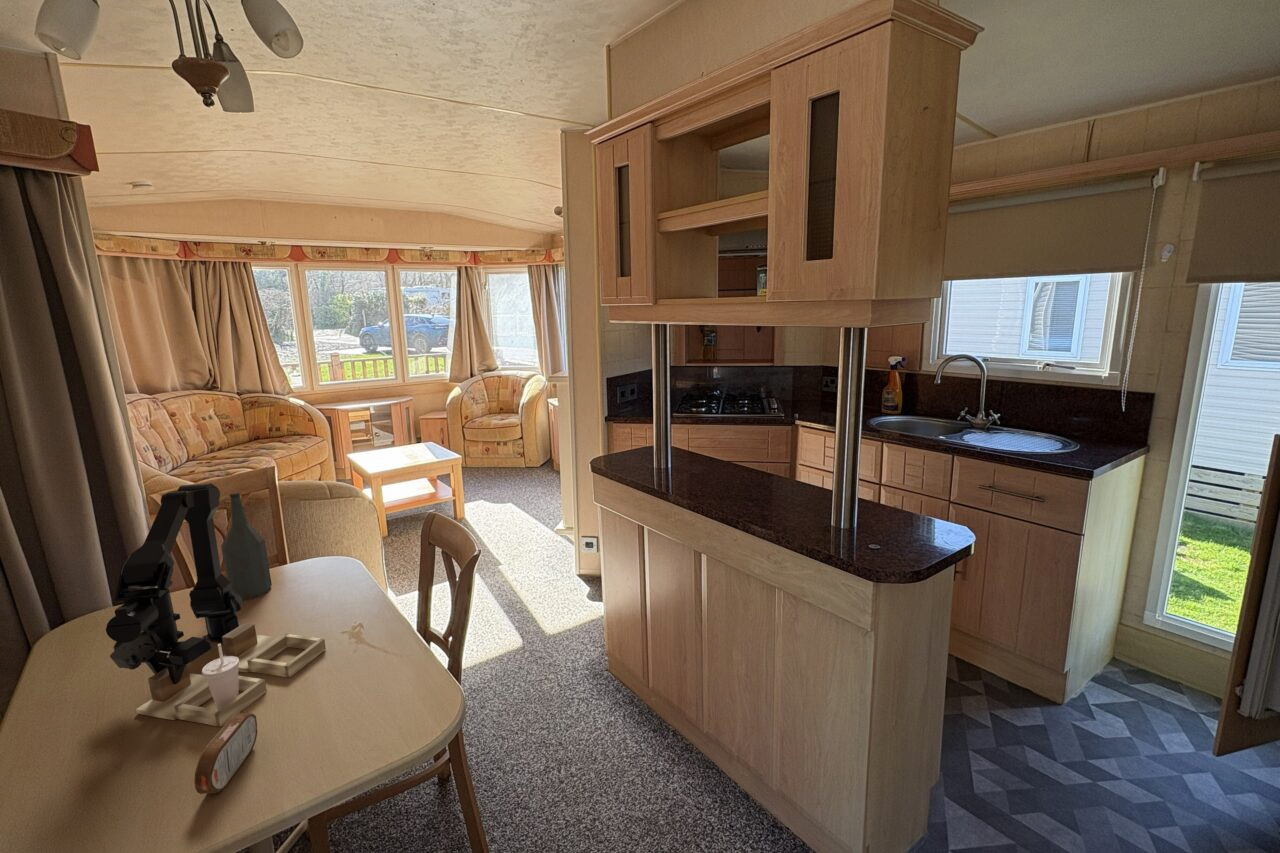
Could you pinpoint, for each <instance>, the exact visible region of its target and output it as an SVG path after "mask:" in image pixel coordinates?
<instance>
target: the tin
mask: <svg viewBox="0 0 1280 853" xmlns="http://www.w3.org/2000/svg"><path fill="white" fill-rule="evenodd" d="M257 736H258V721H257V716H256V715H255V714H254V713H251V712H249V713H247V712H246V713H245V712H244V713H243V712H239V713H236V714H234V715H233V716H232V717H231V718H230V719H229V721H228V722H227V723H225V724H224V725H223V726H222V728H221V729H220V730H219V731H218V732H217V734H216V735H214V737H213V738H212V739H211V740H210V741H209V742H208V743H207V745H206V746H205V748H204V749H203V751H202V753H201V754H200V756H199V759H198V761H197V764H196V768H195V772H194V782H193V783H194V788H195V791H196V793H198V794H199V795H204V794H216V793H220V792H221V791H222V790H224V789H225V787H226V786H228V784H229V783H230V781H231V780H232V779H233V777H234V776H235V774H236V773H237V772H238V771H239V770H240V768H241V767H242V766H243V764H244V762H245V761H246V760H247V758H249V756H250V754H251V753H252V751H253V748H254V747H255V744H256V741H257Z"/></svg>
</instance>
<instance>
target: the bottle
mask: <svg viewBox="0 0 1280 853" xmlns="http://www.w3.org/2000/svg"><path fill="white" fill-rule="evenodd" d="M240 495H241V493H240V492H239V491H234V492H230V494H229V498H230V514H231V518H230V519H231V527H230V528H229V530H228V532H227V533H226V536H225V538H224V540H223V541H222V543H221V545H220V548H221V553H222V558H223V559H222V560H223V564H224V570H225V577H226V578H227V579H228V580H229V581H230V582H231V585H232V589H233V591H234V592H235V593H237V594H238V595H239V596H241V597H242V600H249V599H250V598H251V599H254V598H253V597H255V598H257V597H260V596H261V594H262V595H263V593H264V594H266V593H267V592H268V591H269V590H270V589H271V587H272V585H273V584H272V577H271V572H270V564H269V559H268V554H267V549H266V548H267V547H266V542H265V541H266V540H265V538H264V537H263V536H262V534H260V533H259V532H258V531H257V530H256V529H255V528H254V527H253V526H252V525H250V524H249V522H248V519H247V517H246V516H247V515H246V512H245V510H244V507H243V503H242V500H241V496H240ZM269 588H270V589H269ZM265 592H266V593H265ZM259 595H260V596H259Z"/></svg>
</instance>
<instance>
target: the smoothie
mask: <svg viewBox="0 0 1280 853" xmlns="http://www.w3.org/2000/svg"><path fill="white" fill-rule="evenodd" d="M217 649H218V656H219V657H218V658H216V659H213V660H211V661H210V662H207V663H206V664H205V665H204V666H203V667H202V669H201V675H202V676H203V677H204V678H206V681H207V684H208V686H209V689H210V692H211V694H212V697H211V698H212V700H213V701H214V704H215V707H216V710H220V709H221V708H223V707H224V706H226V705H227V704H228V703H230V702H231V701H232V700H234V699H235V698H236V697H238V696H239V695H240V694H239V692H240V690H239V680H238V676H239V671H238V667H239V665H240V662H239V659H238V658H237V657H235V656H226V657H223V656H224V654H223V649H222V644H221V643H218V644H217Z"/></svg>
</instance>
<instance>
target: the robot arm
mask: <svg viewBox="0 0 1280 853" xmlns="http://www.w3.org/2000/svg"><path fill="white" fill-rule="evenodd" d="M220 497H221V491H220V489H219V488H218V486H215V484H214V483H211V482H208V483H196V484H194V483H193V484H184V485H180V486H179V487H178V489H177V490H172V491H167V492H166V493H163V494H162V495H161V498H160V506H159V508H158V510H157V512H156V516H155V518H154V520H153V523H152V524H151V526H150V529H149V531H148V533H147V535H146V538H145V539H144V541H143V543H142V545H141V546H140V547H139V548H137V549H136V550H134V551H132V552H131V553H130V555H129V556H128V558H127V559H126V561H125V562H124V564H123V566H122V568H120V572H119V576H118V582H117V587H116V591H115V597H114V602H115V603H120V602H124V603H123V604H121V606H118V607H117V608H116V609H114V616H113V617H112V618H111V619H109V620H108V622H107V624H106V627H105V633H106V634H107V636H108V637H109V639H111V640H113V641H114V642H115V644H114V645H113V652H112V653H110V655H109V658H110V659H111V661H113V663H114V664H115V665H116V666H117V667H118V668H119V669H128V670H136V669H138V668H139V667H140V666H141V665H142V664H143V663H145V664H146V665H147V667H148V668H149V670H151V671H152V673H153V674H154V675H155V674H157V673H158V672H160V671H162V670H163V669H165V668H166V667H167V669H168V672H169V674H170V677H171V680H172V682H173V684H177V683H178V682H180V679H181V677H182V674H183V671H184V669H185V666H186V664H187V665H189V664H190V663H193V662H194V661H195V660H197V659H199V658H200V657H201V656H203V655H205V654H206V653H209V651H211V650H212V644H211V641H212V642H216V643H217V642H218V643H223V639H222V637H223V636H224V635H226V634H227V633H229V632H231V631H232V630H234V629H235V628H237V627H239V626H240V624H239V618H238V615H237V613H238V612H239V611H242V606H243V599H242V597H241V596H239V595H238V594H237V593H235V592H234V591H233V589H232V585H231V582H230V581H229V580H228V579H227V577H226V575H225V576H224V575H223V573H222V568H221V562H220V555H219V548H218V543H217V536H216V528H215V523H214V516H215V515H216V513H217V511H218V509H219V507H220ZM184 521H185V522H186V523H187V524H188V529H189V536H190V542H191V548H192V555H193V561H194V567H195V573H196V574H195V575H196V583H195V584H194V586H193V588H192V590H190V591H189V593H188V595H189V598H190V601H189V602H190V604H189V606H190V608H191V611H192V612H193V615H194V617H195V618H196V619H200V618H201V619H202V618H204V621H205V622H204V623H205V626H206V632H207V634H205V635H204V636H202V637H197V636H190V637H189V638H188V639H186V640H185V639H184V640H180V641H179V639H181V638H183V637H184V636H185V635H184V631H183V630H178V626H177V623H176V622H177V621H178V620H180V619H181V614H180V613H175V610H174V606H173V603H172V597H171V592H170V587H171V586H172V585H173V584H174V582H173V580H171V579H172V576H173V572H174V565H175V560H174V558H173V556H172V551H173V547H174V546H175V542H176V540H177V537H178V535H179V533H180V531H181V528H182V526H183V523H184ZM136 588H142V589H136ZM129 589H131V590H129ZM132 589H133V590H132Z"/></svg>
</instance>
